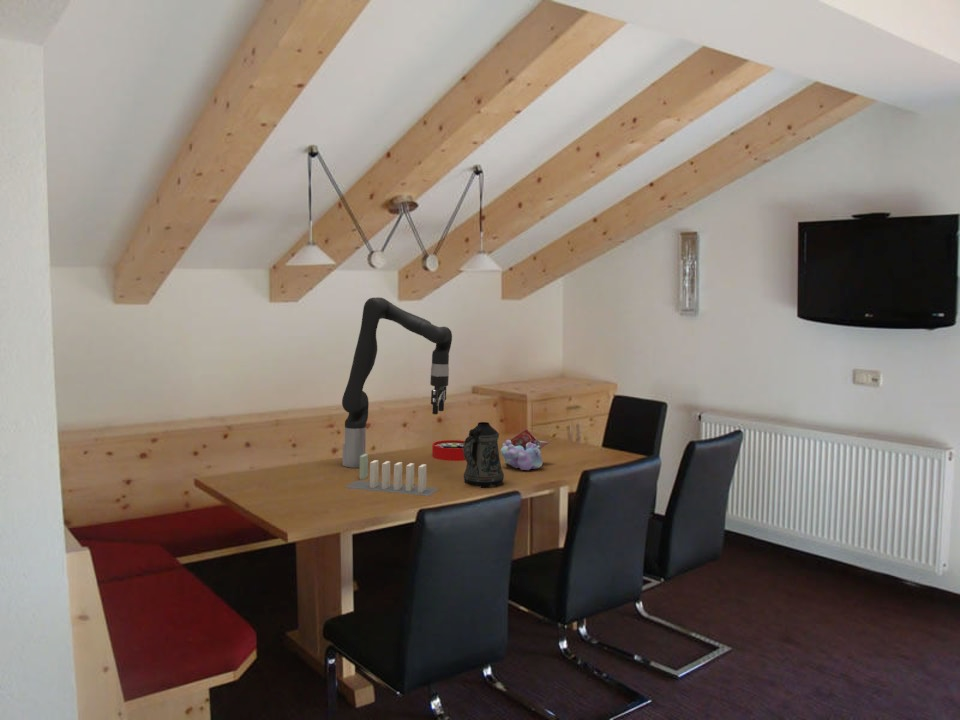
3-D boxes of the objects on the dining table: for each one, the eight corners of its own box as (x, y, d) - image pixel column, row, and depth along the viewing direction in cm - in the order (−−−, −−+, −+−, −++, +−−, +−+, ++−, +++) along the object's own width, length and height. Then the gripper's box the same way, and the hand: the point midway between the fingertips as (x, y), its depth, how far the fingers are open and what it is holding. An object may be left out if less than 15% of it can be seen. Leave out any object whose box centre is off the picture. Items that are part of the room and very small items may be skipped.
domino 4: (393, 489, 318) (394, 464, 317) (398, 486, 322) (398, 462, 321) (397, 490, 317) (397, 465, 316) (401, 487, 322) (402, 462, 321)
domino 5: (405, 491, 316) (406, 465, 315) (410, 488, 321) (410, 463, 320) (409, 491, 316) (410, 466, 315) (413, 488, 321) (414, 463, 320)
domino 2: (369, 487, 320) (370, 462, 319) (374, 484, 325) (374, 460, 324) (373, 488, 320) (373, 462, 319) (378, 485, 325) (378, 460, 324)
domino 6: (417, 492, 315) (418, 466, 314) (422, 489, 320) (422, 464, 319) (421, 492, 315) (422, 467, 314) (426, 489, 320) (426, 464, 319)
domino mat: (344, 488, 319) (344, 487, 319) (356, 481, 331) (356, 480, 331) (429, 497, 310) (429, 495, 310) (438, 489, 322) (438, 488, 322)
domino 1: (359, 480, 333) (359, 456, 332) (364, 477, 338) (364, 454, 337) (363, 480, 333) (363, 456, 332) (367, 478, 337) (368, 454, 336)
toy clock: (474, 449, 373) (430, 448, 373) (473, 462, 373) (430, 460, 374) (475, 440, 393) (434, 439, 393) (475, 452, 393) (434, 451, 394)
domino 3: (381, 488, 319) (382, 463, 318) (386, 485, 324) (386, 461, 323) (385, 489, 319) (385, 464, 318) (390, 486, 323) (390, 461, 322)
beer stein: (506, 479, 341) (508, 420, 338) (498, 491, 322) (500, 428, 319) (468, 476, 344) (469, 418, 342) (457, 488, 325) (458, 426, 323)
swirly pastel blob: (500, 462, 351) (522, 427, 351) (488, 450, 372) (509, 417, 372) (537, 484, 357) (559, 450, 357) (523, 471, 378) (544, 438, 378)
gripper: (436, 371, 349) (434, 409, 351) (425, 375, 335) (424, 414, 337) (452, 373, 347) (451, 410, 349) (443, 377, 334) (441, 416, 335)
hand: (438, 412), depth 343 cm, fingers open, 8 cm apart
